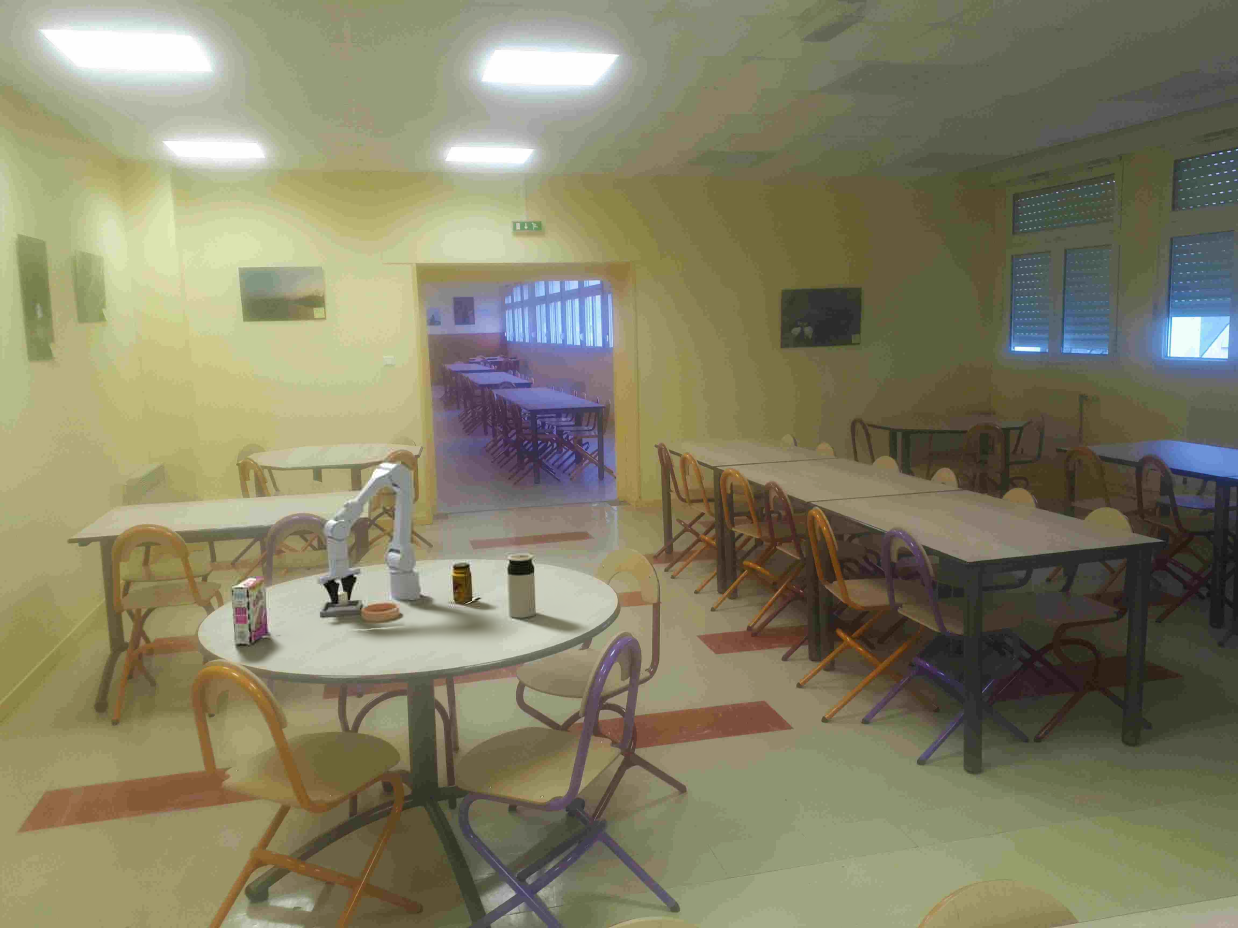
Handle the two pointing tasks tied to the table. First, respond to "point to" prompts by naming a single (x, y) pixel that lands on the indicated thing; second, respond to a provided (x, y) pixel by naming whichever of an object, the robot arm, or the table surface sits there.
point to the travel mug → (521, 586)
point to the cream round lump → (342, 598)
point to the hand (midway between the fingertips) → (341, 601)
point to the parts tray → (341, 609)
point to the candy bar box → (249, 611)
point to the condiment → (462, 583)
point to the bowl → (380, 611)
